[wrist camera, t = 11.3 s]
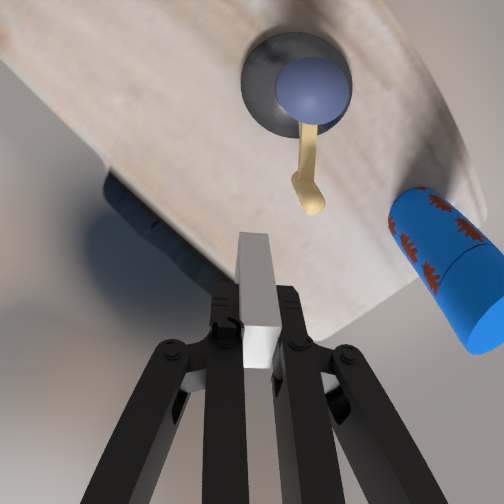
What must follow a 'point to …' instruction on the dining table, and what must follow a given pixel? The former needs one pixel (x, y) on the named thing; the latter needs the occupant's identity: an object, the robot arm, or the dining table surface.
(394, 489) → the robot arm
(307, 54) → the post base
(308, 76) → the blue crank handle
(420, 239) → the thermos
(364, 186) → the dining table surface
